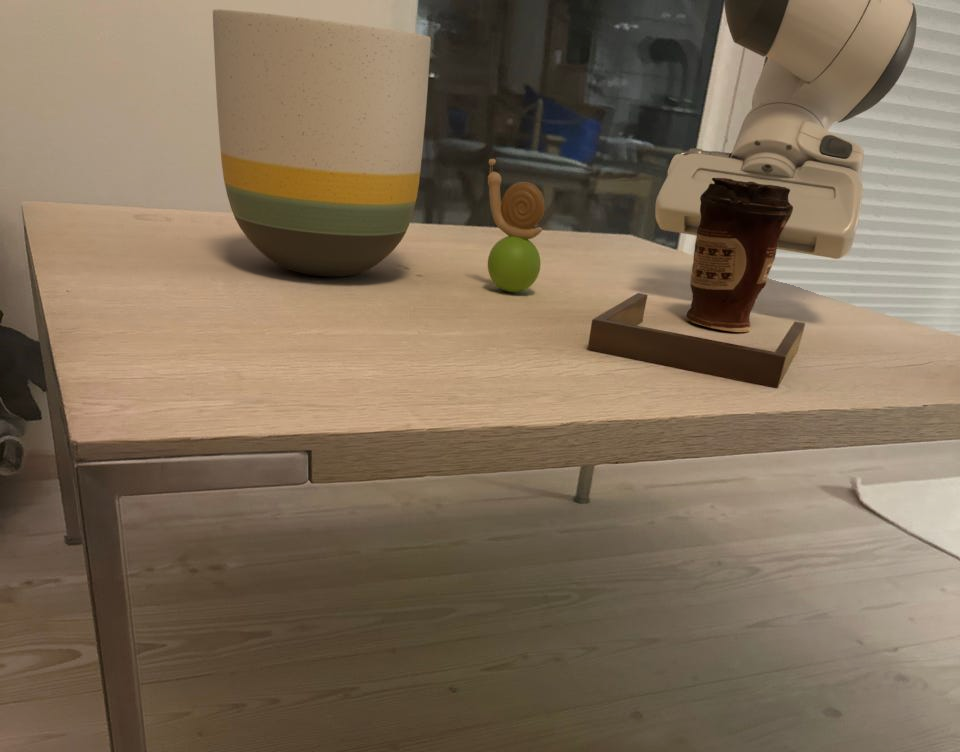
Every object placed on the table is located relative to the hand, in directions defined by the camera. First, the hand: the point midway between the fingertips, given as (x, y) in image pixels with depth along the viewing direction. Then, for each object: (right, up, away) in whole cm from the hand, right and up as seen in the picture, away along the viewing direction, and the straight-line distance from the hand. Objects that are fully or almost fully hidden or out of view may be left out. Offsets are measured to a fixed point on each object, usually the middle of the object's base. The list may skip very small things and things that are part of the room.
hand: (735, 272), depth 93 cm
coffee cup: (-2, -6, -1) cm, 6 cm away
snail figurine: (-23, -1, +3) cm, 23 cm away
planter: (-42, +1, +2) cm, 42 cm away
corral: (-6, -11, -11) cm, 17 cm away
